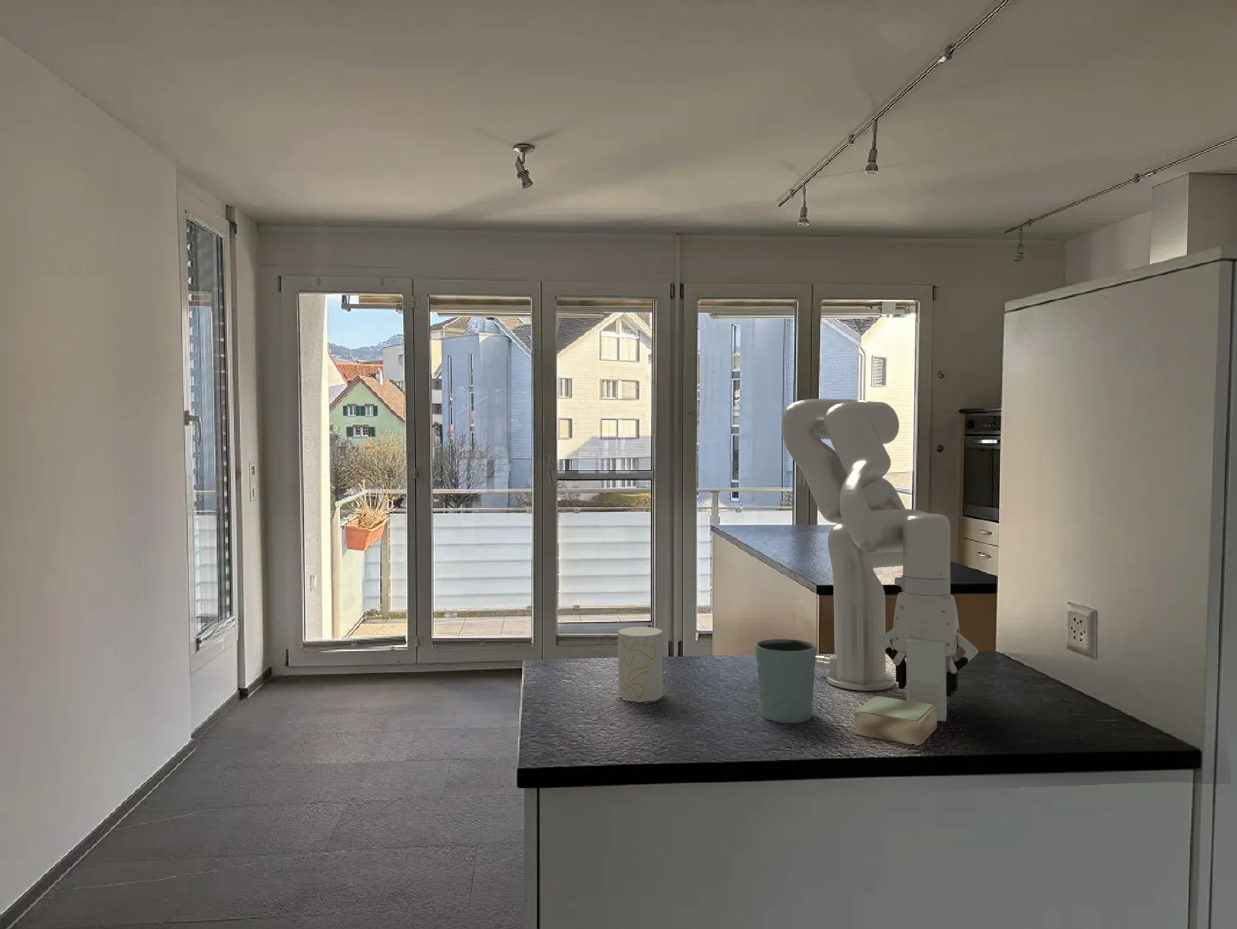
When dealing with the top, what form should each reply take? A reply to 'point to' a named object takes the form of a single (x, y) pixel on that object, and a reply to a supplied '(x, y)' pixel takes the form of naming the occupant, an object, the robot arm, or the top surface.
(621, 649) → the cream patterned cylinder
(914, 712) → the plinth
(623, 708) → the top surface
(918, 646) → the small box
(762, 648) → the green tumbler
